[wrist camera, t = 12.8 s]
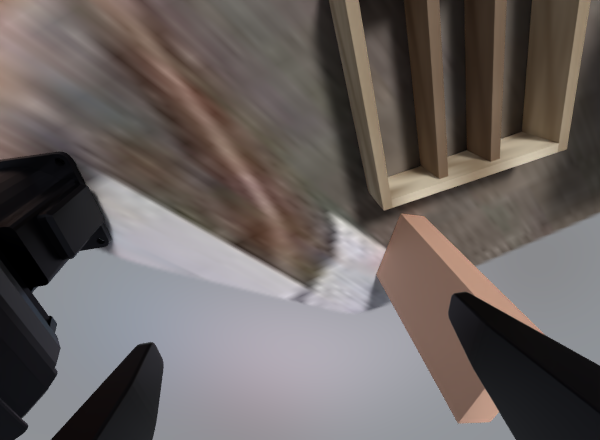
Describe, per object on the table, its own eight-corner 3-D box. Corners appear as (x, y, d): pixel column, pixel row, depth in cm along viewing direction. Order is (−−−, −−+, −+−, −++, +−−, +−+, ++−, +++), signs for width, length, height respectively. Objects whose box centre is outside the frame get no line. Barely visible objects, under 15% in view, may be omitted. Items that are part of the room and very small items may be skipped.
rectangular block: (376, 274, 26) (457, 423, 16) (400, 213, 24) (518, 344, 13) (397, 276, 27) (490, 422, 16) (423, 216, 24) (555, 345, 14)
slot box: (368, 191, 22) (383, 210, 20) (322, -29, 16) (337, -44, 13) (529, 137, 22) (566, 149, 19) (552, -112, 15) (613, -144, 13)
